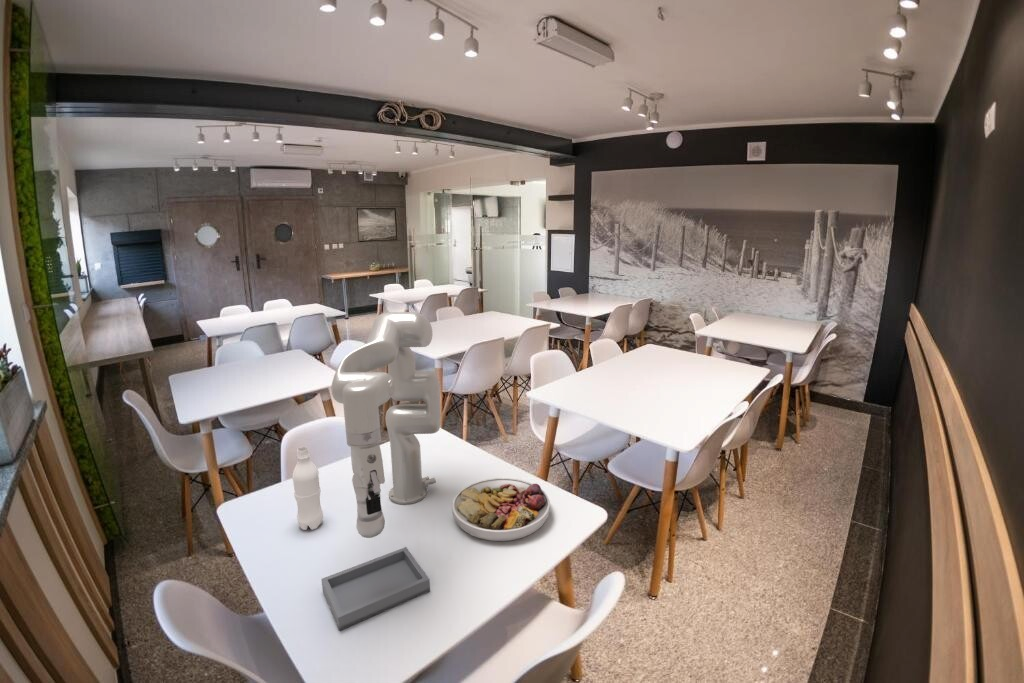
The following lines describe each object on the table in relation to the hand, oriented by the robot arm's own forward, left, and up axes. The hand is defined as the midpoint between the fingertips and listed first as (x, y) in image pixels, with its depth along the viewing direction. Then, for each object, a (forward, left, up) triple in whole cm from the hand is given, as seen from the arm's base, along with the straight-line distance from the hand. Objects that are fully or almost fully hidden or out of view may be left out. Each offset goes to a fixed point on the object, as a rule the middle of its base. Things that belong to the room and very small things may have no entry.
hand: (369, 505), depth 118 cm
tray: (0, 0, -24) cm, 24 cm away
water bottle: (+7, -38, -24) cm, 45 cm away
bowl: (-43, -10, -24) cm, 50 cm away
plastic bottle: (0, 0, -8) cm, 8 cm away
